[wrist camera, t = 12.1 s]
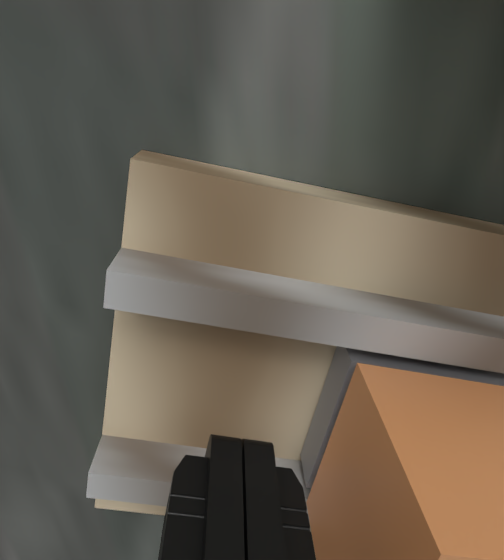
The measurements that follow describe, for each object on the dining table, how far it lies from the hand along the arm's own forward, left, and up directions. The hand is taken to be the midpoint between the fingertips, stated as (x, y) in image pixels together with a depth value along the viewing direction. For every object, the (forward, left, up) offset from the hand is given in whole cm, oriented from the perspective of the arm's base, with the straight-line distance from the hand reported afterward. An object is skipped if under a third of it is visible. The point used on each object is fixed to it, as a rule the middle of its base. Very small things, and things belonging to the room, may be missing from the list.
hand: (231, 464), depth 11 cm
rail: (+12, 0, -5) cm, 13 cm away
